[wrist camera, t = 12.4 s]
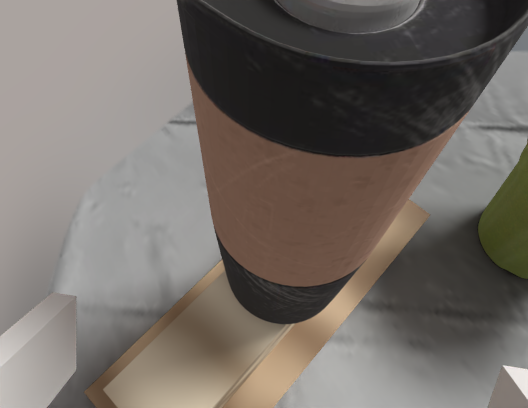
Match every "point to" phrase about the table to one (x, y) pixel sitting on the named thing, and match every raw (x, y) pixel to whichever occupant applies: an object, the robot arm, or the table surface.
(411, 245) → the table surface
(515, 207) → the plant pot
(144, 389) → the ridge
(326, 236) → the travel mug
